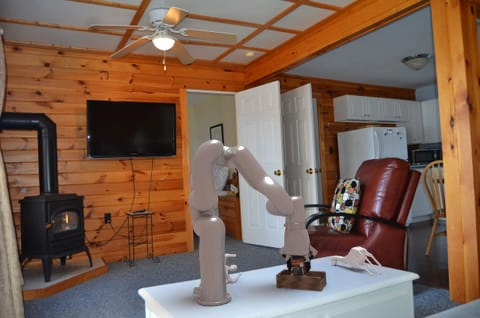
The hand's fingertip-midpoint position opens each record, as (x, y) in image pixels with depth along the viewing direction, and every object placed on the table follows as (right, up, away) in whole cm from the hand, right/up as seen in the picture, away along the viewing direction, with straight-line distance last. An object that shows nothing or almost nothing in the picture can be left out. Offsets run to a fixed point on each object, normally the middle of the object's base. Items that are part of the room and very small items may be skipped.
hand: (298, 270), depth 150 cm
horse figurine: (+29, -6, +19) cm, 35 cm away
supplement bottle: (+1, -5, -1) cm, 5 cm away
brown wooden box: (+1, -6, -1) cm, 6 cm away
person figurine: (-33, -9, +7) cm, 35 cm away
